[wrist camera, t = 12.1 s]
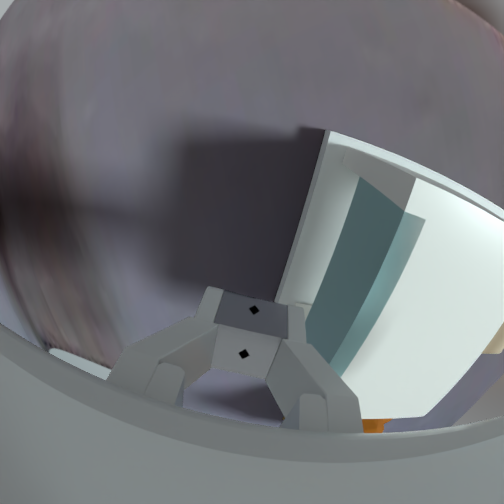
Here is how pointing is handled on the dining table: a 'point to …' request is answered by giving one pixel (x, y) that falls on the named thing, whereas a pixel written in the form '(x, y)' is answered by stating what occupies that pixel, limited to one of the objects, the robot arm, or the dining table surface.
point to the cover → (407, 289)
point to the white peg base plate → (337, 214)
